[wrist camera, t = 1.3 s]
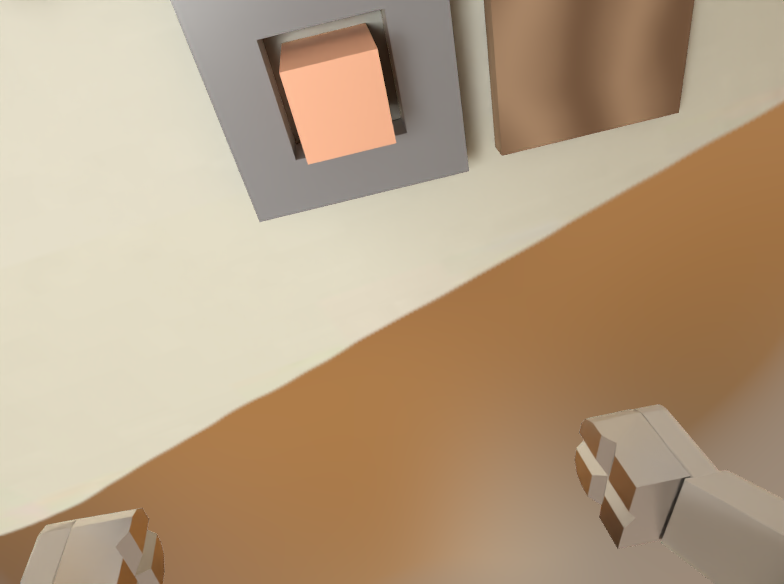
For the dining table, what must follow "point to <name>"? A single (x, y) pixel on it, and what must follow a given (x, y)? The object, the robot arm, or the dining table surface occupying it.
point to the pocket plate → (268, 117)
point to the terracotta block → (336, 93)
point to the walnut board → (582, 66)
